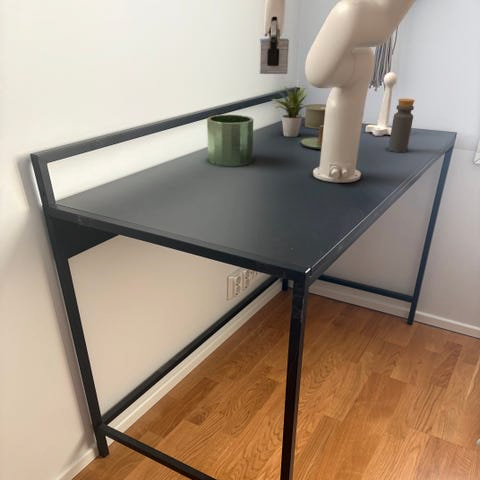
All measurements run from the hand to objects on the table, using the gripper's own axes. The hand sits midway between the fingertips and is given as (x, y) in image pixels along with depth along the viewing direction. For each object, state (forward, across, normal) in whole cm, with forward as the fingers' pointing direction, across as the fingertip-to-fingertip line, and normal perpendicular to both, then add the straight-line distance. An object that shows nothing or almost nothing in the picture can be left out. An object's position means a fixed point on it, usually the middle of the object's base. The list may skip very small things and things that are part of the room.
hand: (273, 64), depth 139 cm
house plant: (+24, -28, +6) cm, 37 cm away
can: (+24, -44, +17) cm, 53 cm away
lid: (+24, -12, +16) cm, 31 cm away
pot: (+25, +11, -11) cm, 29 cm away
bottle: (+25, -10, +40) cm, 49 cm away
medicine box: (+3, 0, 0) cm, 3 cm away
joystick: (+25, -33, +38) cm, 56 cm away
